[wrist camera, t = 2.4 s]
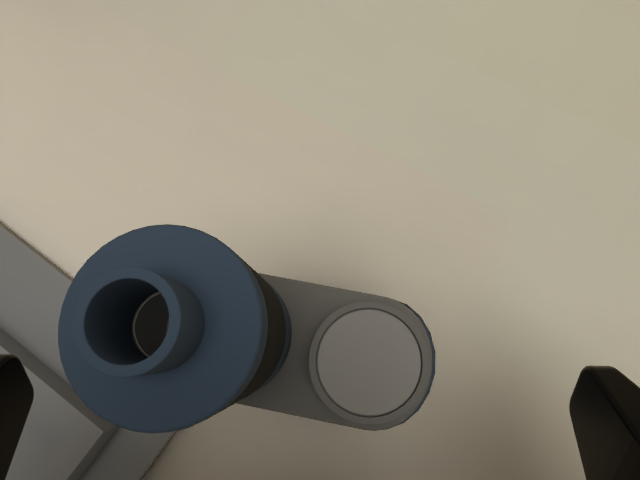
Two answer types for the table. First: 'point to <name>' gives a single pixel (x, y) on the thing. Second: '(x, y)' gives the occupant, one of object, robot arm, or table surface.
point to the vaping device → (232, 339)
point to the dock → (57, 383)
